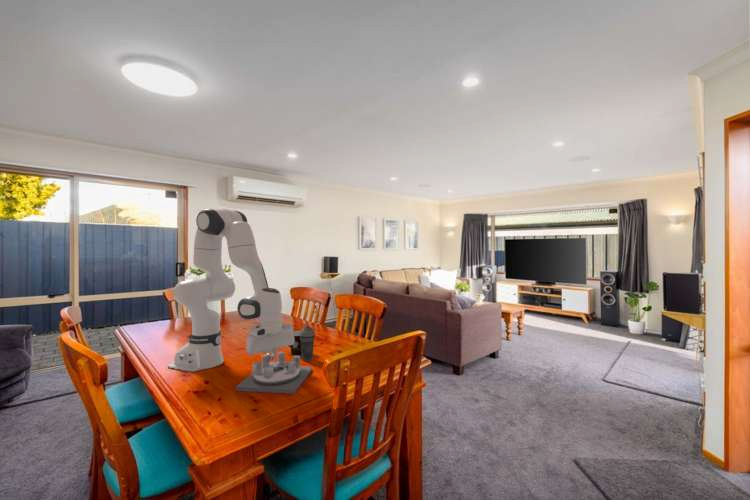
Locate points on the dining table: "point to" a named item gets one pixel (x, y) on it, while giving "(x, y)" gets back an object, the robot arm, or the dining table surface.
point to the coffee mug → (296, 344)
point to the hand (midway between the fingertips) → (271, 360)
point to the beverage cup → (307, 342)
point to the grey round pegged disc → (276, 370)
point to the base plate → (282, 388)
